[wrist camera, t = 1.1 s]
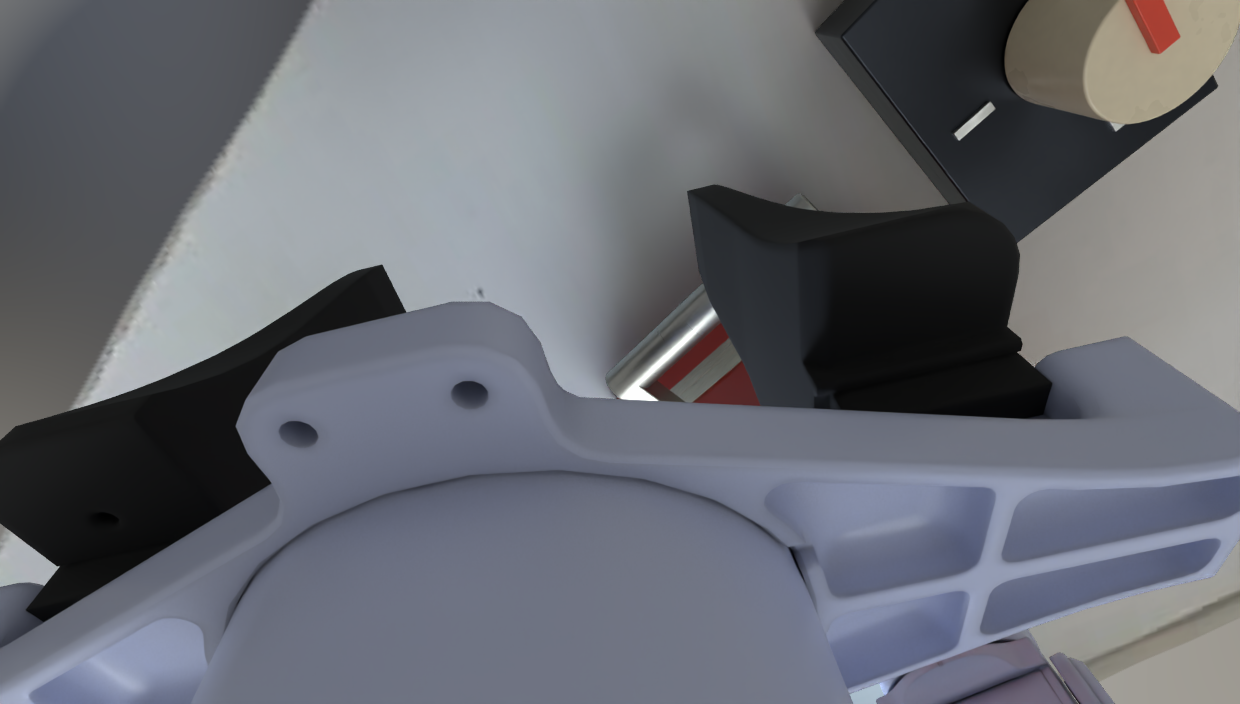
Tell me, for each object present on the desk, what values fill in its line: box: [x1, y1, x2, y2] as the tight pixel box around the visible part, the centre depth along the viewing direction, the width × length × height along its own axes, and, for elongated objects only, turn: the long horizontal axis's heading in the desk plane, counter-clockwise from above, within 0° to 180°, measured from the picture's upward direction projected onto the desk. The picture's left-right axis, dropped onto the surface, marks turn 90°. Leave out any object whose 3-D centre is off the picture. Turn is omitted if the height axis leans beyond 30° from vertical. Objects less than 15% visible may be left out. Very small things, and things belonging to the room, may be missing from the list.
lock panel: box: [815, 0, 1218, 243], centre depth 20 cm, size 11×9×3 cm
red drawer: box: [606, 193, 818, 406], centre depth 21 cm, size 6×13×9 cm, turn 137°
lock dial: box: [1004, 0, 1240, 124], centre depth 17 cm, size 4×4×4 cm
